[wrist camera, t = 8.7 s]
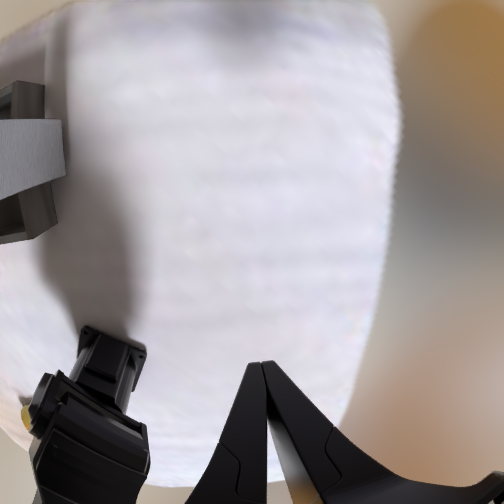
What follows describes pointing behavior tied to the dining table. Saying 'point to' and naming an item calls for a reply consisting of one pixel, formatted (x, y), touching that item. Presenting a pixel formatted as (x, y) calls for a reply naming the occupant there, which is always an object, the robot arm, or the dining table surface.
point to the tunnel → (37, 197)
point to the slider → (29, 153)
